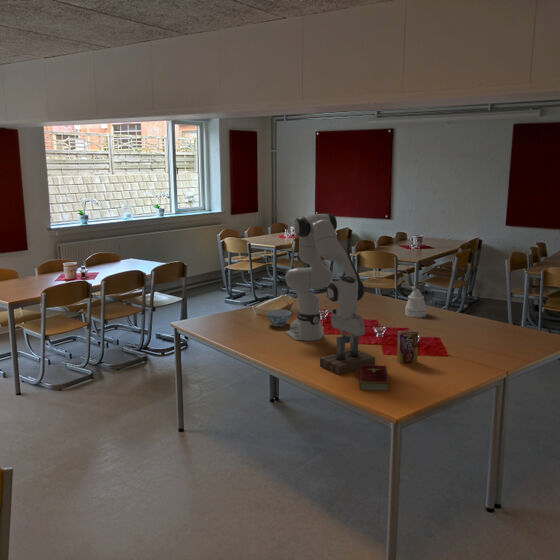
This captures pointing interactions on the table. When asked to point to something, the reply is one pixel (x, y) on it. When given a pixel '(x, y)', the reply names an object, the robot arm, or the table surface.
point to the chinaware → (278, 317)
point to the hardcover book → (373, 377)
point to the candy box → (407, 347)
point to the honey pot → (415, 304)
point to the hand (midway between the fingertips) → (347, 340)
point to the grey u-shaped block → (341, 347)
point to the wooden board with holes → (346, 362)
